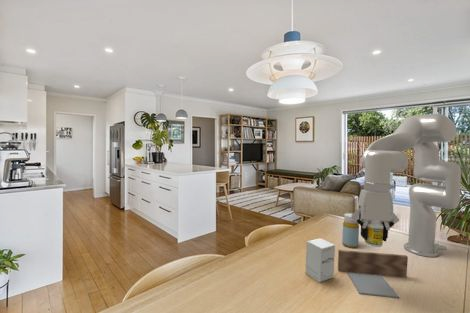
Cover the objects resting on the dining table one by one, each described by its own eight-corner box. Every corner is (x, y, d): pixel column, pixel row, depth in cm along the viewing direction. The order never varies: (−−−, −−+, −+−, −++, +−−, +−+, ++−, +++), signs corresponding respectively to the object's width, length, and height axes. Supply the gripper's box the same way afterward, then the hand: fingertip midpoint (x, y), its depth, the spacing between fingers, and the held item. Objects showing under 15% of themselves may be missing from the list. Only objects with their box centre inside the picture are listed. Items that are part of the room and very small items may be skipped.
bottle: (360, 248, 111) (362, 217, 110) (345, 248, 111) (347, 217, 110) (353, 242, 118) (355, 213, 117) (339, 242, 118) (341, 212, 117)
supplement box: (319, 283, 83) (321, 248, 83) (304, 272, 90) (305, 240, 89) (334, 278, 87) (335, 244, 86) (318, 268, 93) (319, 237, 93)
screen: (404, 275, 89) (405, 255, 88) (406, 277, 88) (407, 256, 87) (337, 269, 93) (338, 249, 92) (338, 271, 91) (339, 251, 91)
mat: (382, 277, 88) (382, 275, 88) (399, 298, 76) (399, 296, 76) (347, 273, 90) (347, 272, 90) (359, 293, 78) (359, 292, 78)
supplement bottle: (373, 240, 85) (375, 214, 84) (386, 246, 80) (388, 219, 79) (361, 241, 84) (362, 215, 83) (373, 248, 79) (374, 220, 78)
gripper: (398, 186, 83) (395, 236, 84) (346, 184, 86) (344, 233, 87) (410, 190, 76) (406, 245, 77) (353, 188, 78) (351, 241, 79)
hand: (373, 238), depth 82 cm, fingers closed on supplement bottle, 5 cm apart
